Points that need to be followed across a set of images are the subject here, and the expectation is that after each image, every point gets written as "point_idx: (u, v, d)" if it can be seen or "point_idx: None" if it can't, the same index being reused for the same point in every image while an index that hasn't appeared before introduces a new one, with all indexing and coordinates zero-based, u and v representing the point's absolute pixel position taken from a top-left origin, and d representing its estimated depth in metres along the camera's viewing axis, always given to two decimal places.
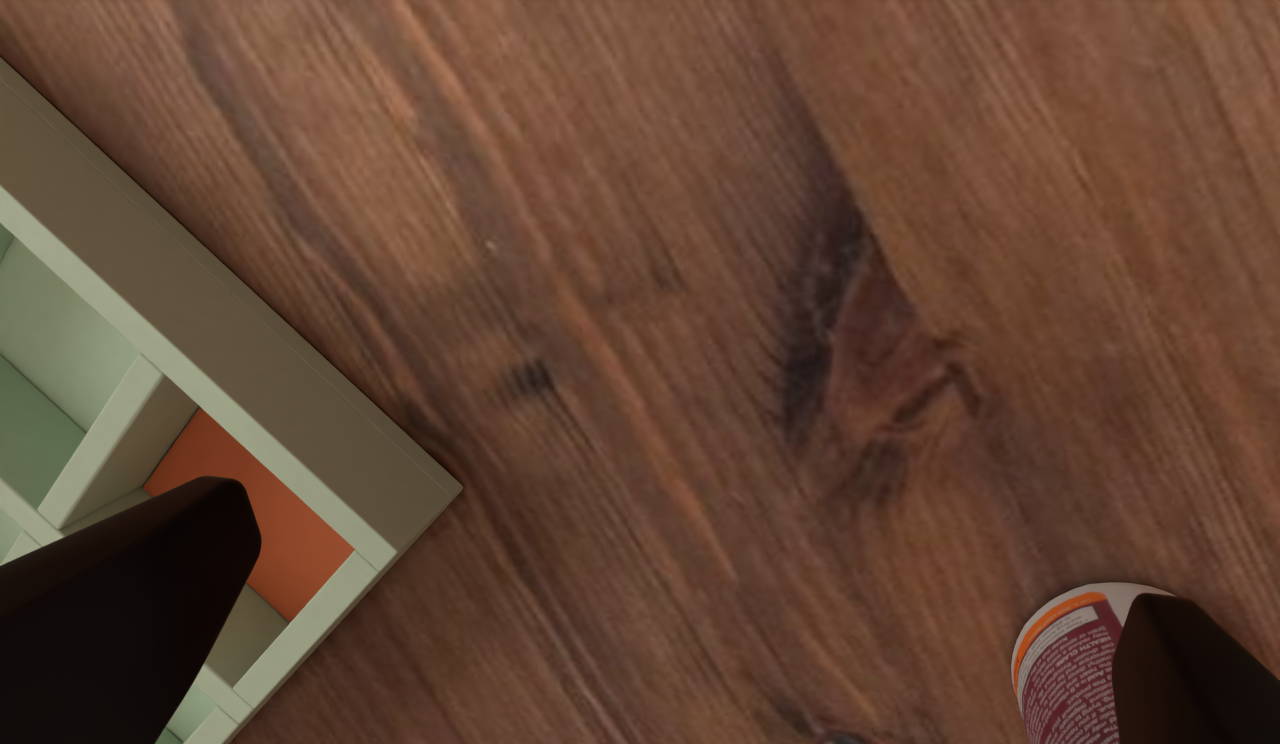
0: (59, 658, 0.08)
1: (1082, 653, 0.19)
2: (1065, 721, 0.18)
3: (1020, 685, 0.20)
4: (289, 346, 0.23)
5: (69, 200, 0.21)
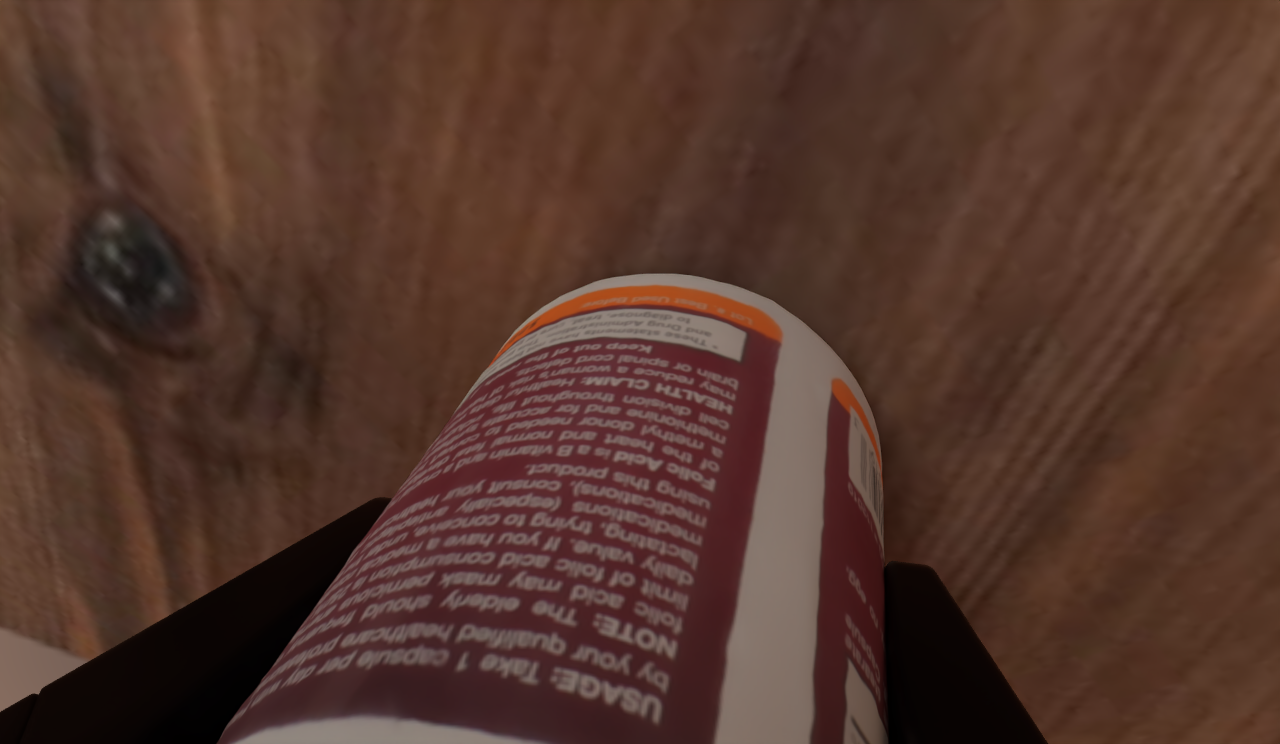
0: None
1: (652, 399, 0.07)
2: (484, 503, 0.06)
3: (495, 365, 0.09)
4: None
5: None
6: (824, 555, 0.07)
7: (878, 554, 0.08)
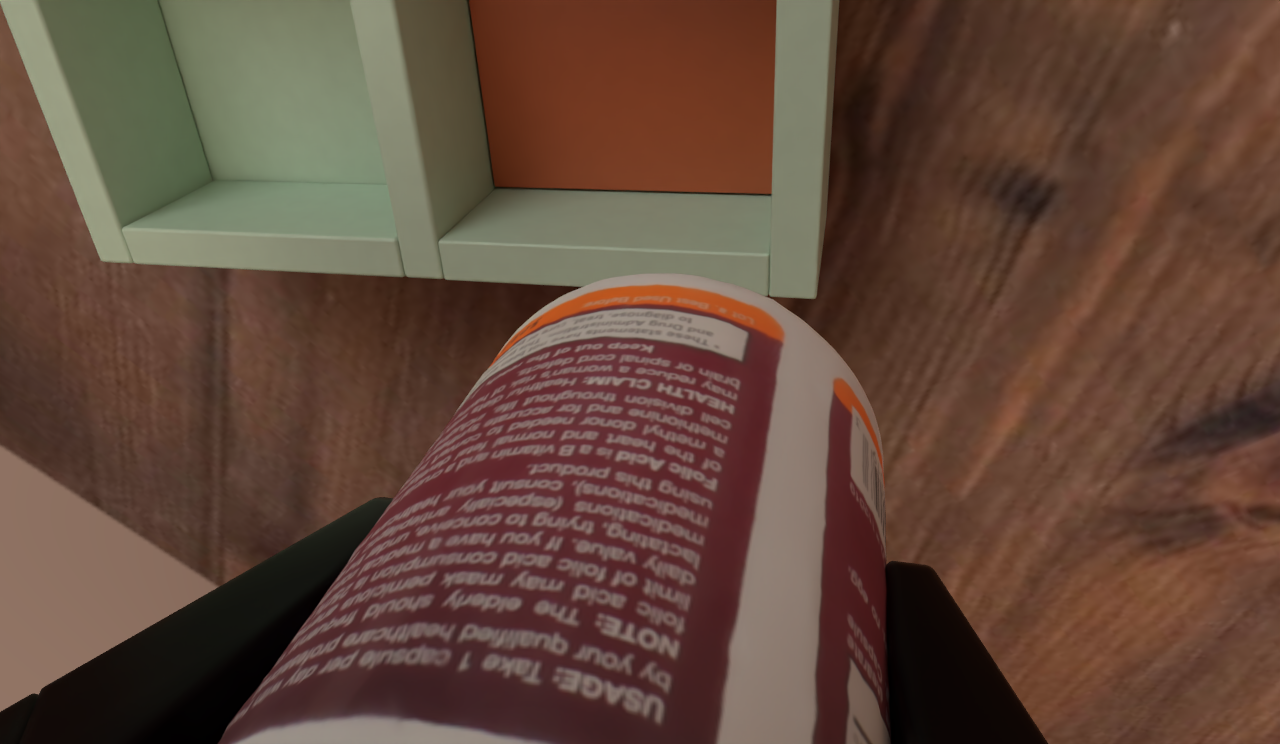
0: None
1: (653, 398, 0.07)
2: (486, 500, 0.06)
3: (496, 365, 0.09)
4: None
5: None
6: (826, 555, 0.07)
7: (880, 554, 0.08)
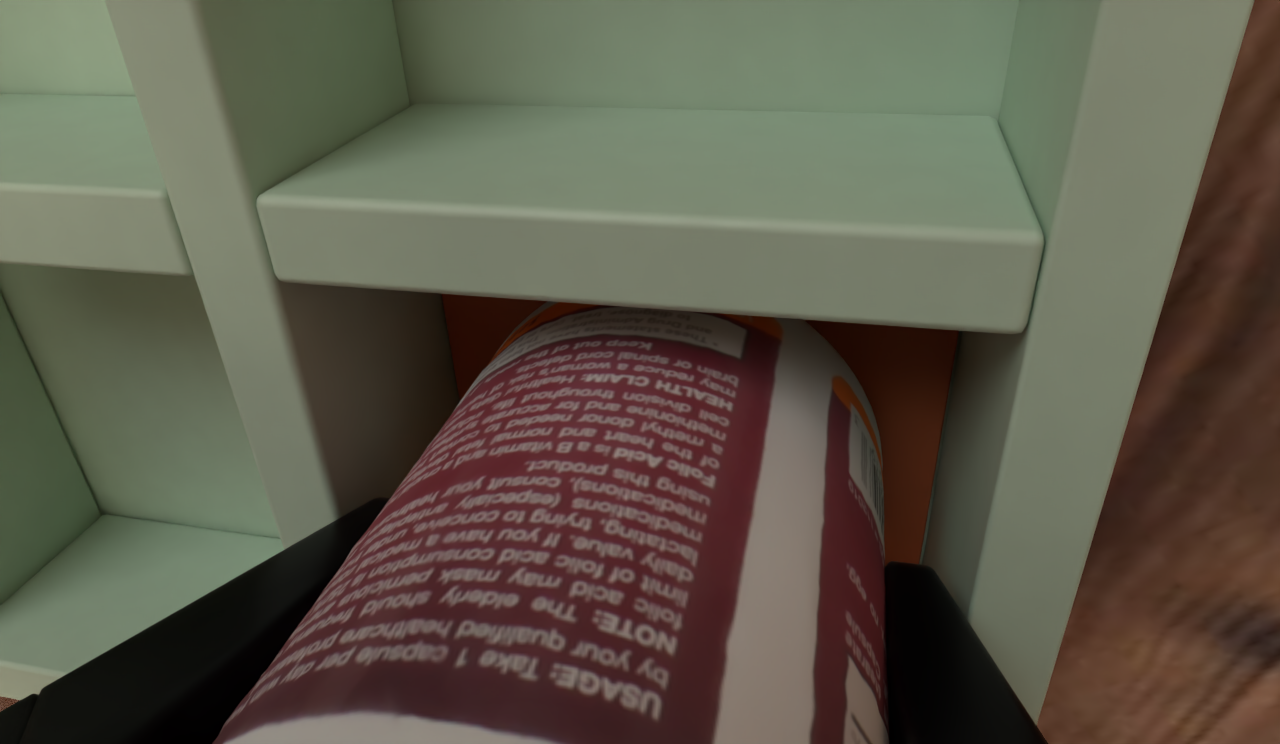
0: None
1: (653, 395, 0.07)
2: (485, 499, 0.06)
3: (495, 362, 0.09)
4: None
5: None
6: (823, 551, 0.07)
7: (878, 551, 0.08)
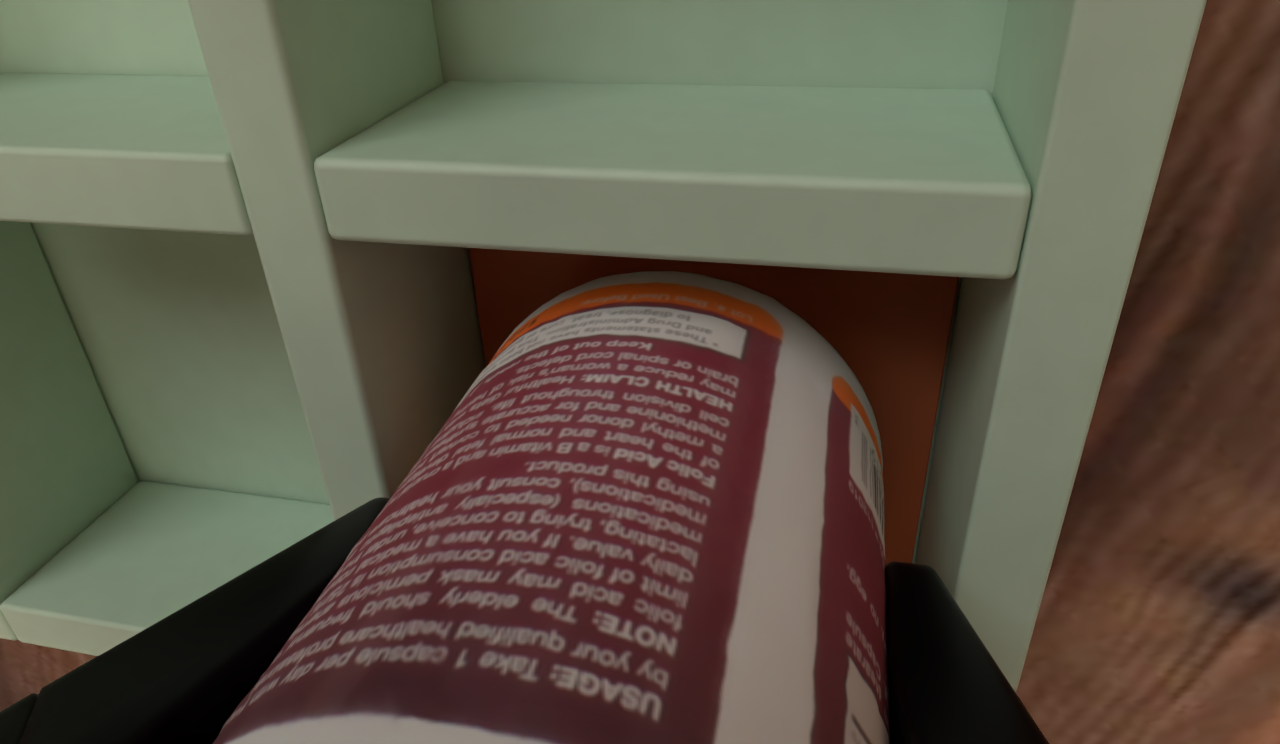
0: None
1: (653, 395, 0.07)
2: (485, 499, 0.06)
3: (495, 362, 0.09)
4: None
5: None
6: (825, 553, 0.07)
7: (879, 552, 0.08)
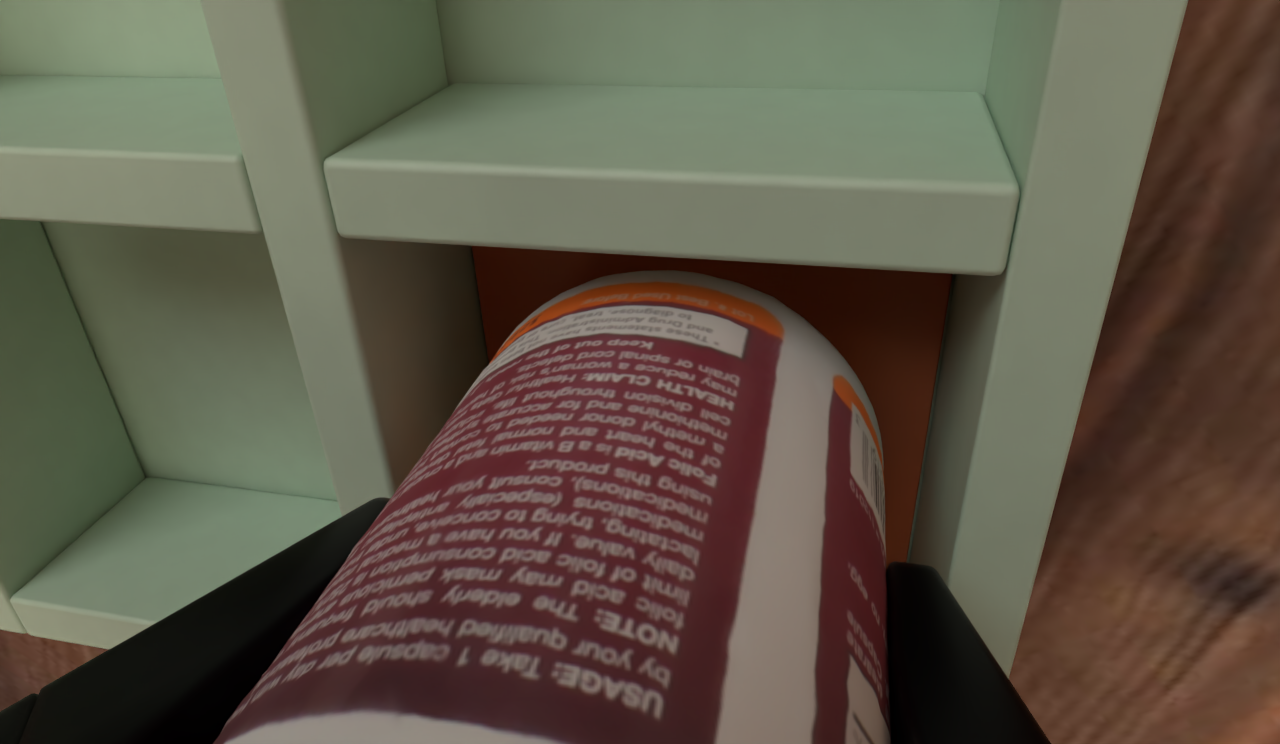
0: None
1: (654, 394, 0.07)
2: (486, 497, 0.06)
3: (496, 362, 0.09)
4: None
5: None
6: (826, 551, 0.07)
7: (880, 551, 0.08)
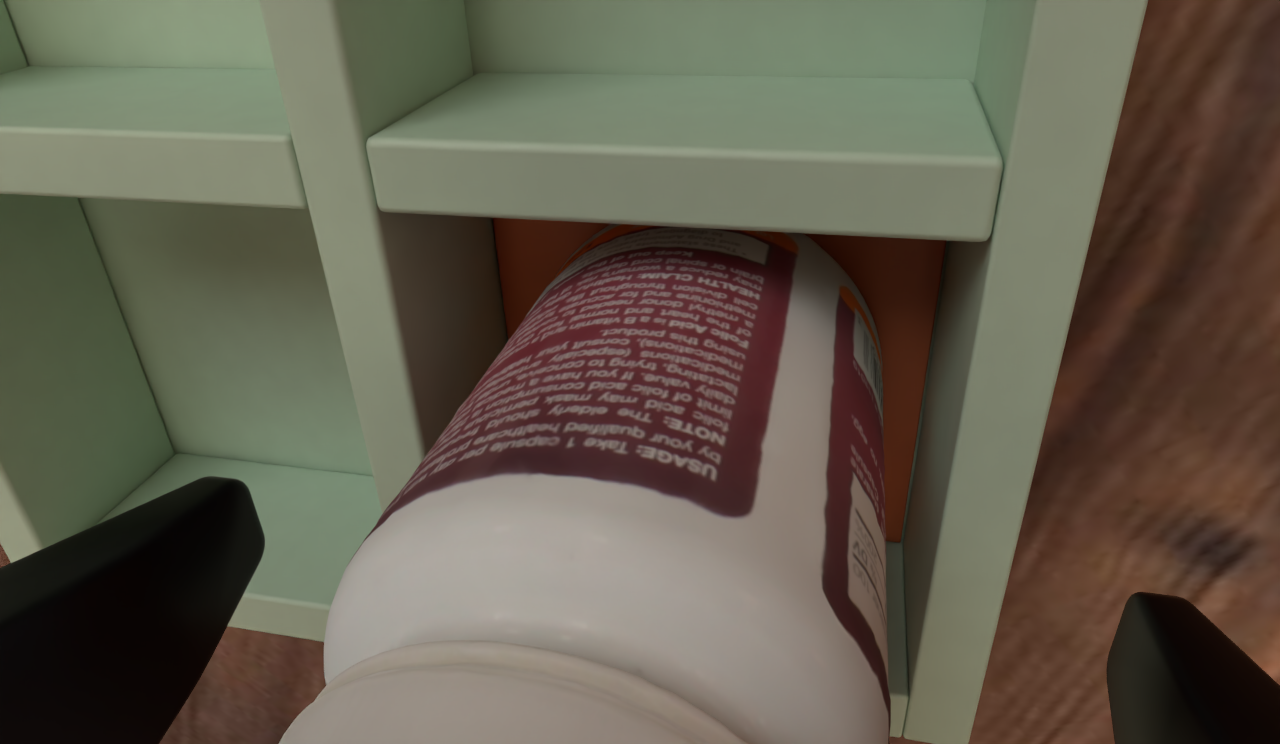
0: (63, 659, 0.08)
1: (696, 286, 0.09)
2: (570, 354, 0.08)
3: (560, 276, 0.10)
4: None
5: None
6: (834, 402, 0.08)
7: (878, 420, 0.09)
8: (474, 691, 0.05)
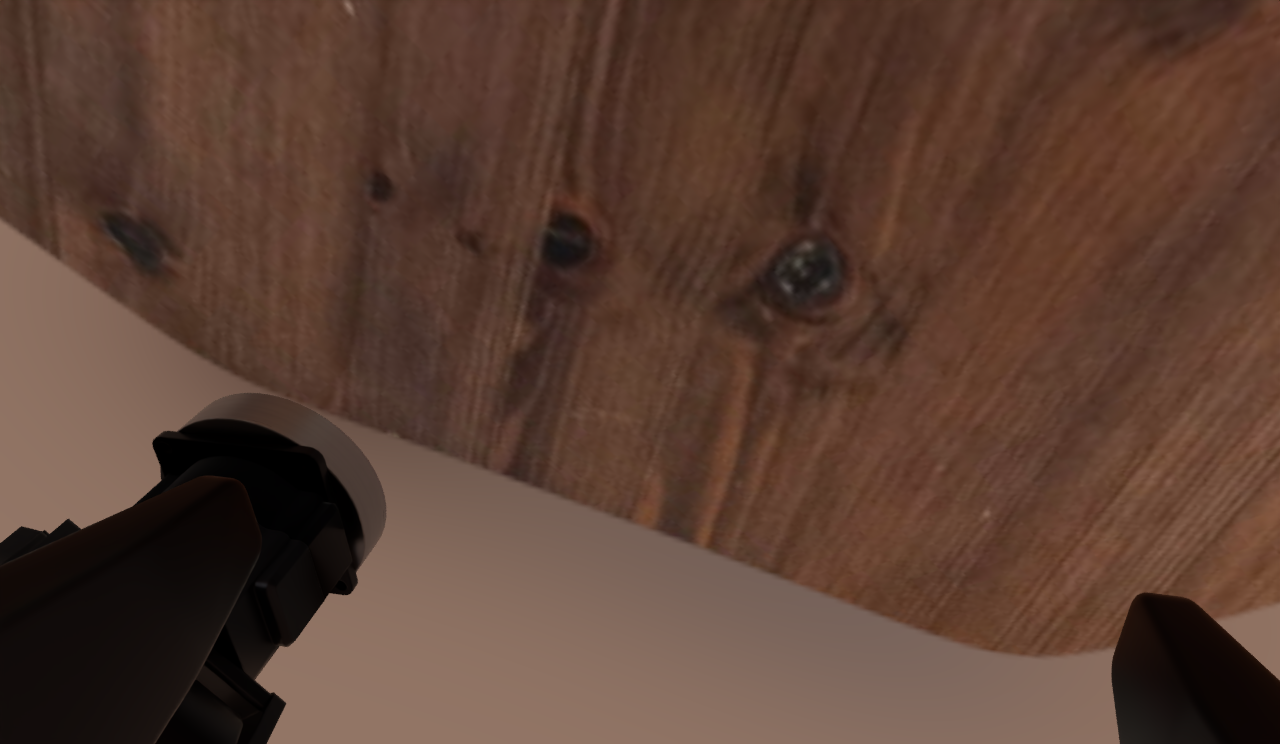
0: (59, 658, 0.08)
1: None
2: None
3: None
4: None
5: None
6: None
7: None
8: None
